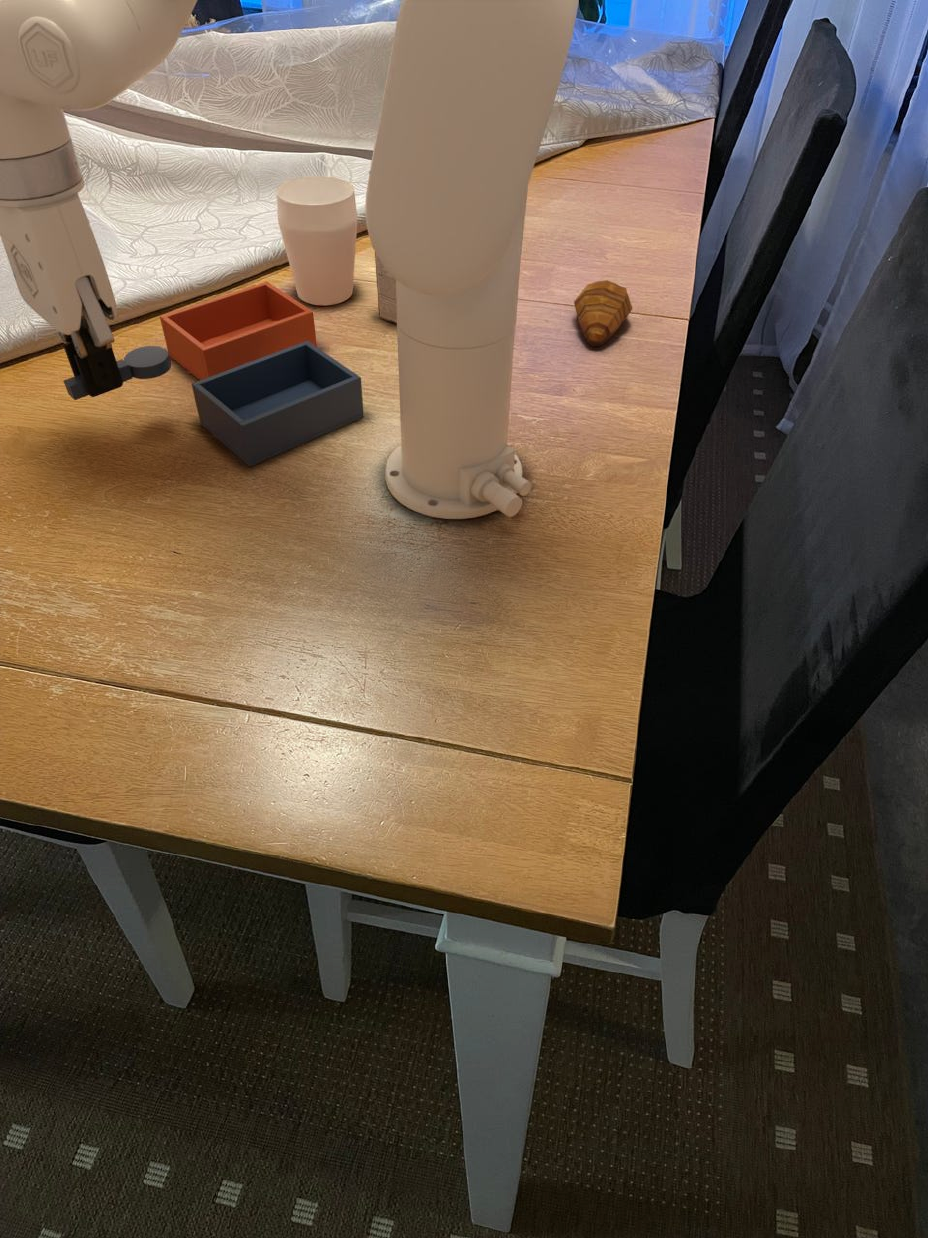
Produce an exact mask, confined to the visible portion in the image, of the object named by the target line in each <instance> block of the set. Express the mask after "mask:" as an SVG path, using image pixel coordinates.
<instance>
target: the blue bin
mask: <svg viewBox="0 0 928 1238" xmlns="http://www.w3.org/2000/svg"><path fill="white" fill-rule="evenodd" d="M362 387H363V386H362V378H361V376H360V375H358V374H357V373H355V372H354V371H352V370H351V369H349V368H348V367H347V366H345V365H343V364H342V363H341V362H339V361H338V360H336V359H335V358H333V357H332V356H330V355H329V354H327V353H326V352H325V351H324V350H322V349H320V348H319V347H318V346H317V347H316V346H314V345H313V344H311V343H310V342H309V341H305V342H303V343H300V344H297V345H294V346H292V347H289V348H286V349H284V350H281V351H278V352H276V353H273V354H270V355H268V356H265V357H262V358H260V359H257V360H254V361H251V362H249V363H246V364H243V365H241V366H238V367H235V368H233V369H230V370H227V371H225V372H222V373H219V374H217V375H214V376H211V377H208V378H206V379H203V380H198V381H195V382H193V383H191V388H192V392H193V397H194V401H195V406H196V409H197V413H198V419H199V423H200V426H202V427H203V428H204V429H206V430H207V431H208V432H209V433H210V434H212V435H213V437H215V438H216V439H217V440H218V441H219V442H221V443H222V444H223V445H224V446H225V447H226V448H227V449H229V450H230V452H232V453H233V454H234V455H236V457H238V458H239V459H240V460H241V461H242V462H243V463H245V464H246V465H247V466H248V467H250V468H251V467H253V466H256V465H257V464H260V463H262V462H264V461H266V460H270V459H271V458H273V457H276V456H278V455H281V454H283V453H285V452H287V451H289V450H293V449H294V448H296V447H299V446H301V445H303V444H306V443H308V442H310V441H312V440H315V439H317V438H319V437H322V436H323V435H327V434H329V433H330V432H334V431H336V430H338V429H340V428H343V427H344V426H345V427H346V426H347V425H350V424H351V423H353V422H355V421H358V420H361V419H363V418H364V402H363V388H362Z"/></svg>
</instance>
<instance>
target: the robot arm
mask: <svg viewBox="0 0 928 1238" xmlns="http://www.w3.org/2000/svg"><path fill="white" fill-rule="evenodd" d="M197 2H198V0H0V238H1V242H2V244H3V248H4V250H5V254H6V257H7V260H8V263H9V267H10V269H11V271H12V274H13V278H14V281H15V283H16V286H17V289H18V292H19V295H20V296H21V298H22V300H23V302H25V303H26V304H27V306H28V307H30V309H31V310H33V311H34V312H35V313H36V314H37V315H38V316H39V317H41V318H42V319H43V320H44V321H45V322H46V323H47V324H48V325H50V327H52V328H53V329H55V330H56V331H57V334H58V336H59V338H60V340H61V341H62V343H63V344H64V345H63V346H62V347H63V349H64V352H65V355H66V358H67V361H68V364H69V366H70V369H71V371H72V374H73V377H75V376H77V375H80V374H81V377H82V380H83V383H84V386H85V388H86V391H87V393H88V394H89V395H88V396H90V397H92V398H95V397H98V396H101V395H103V394H106V393H109V392H111V391H114V390H116V389H119V388H121V387H122V386H123V384H124V382H123V381H122V377H121V374H120V371H119V368H118V365H117V362H116V361H117V359H116V356H115V352H114V349H113V345H112V344H113V343H115V337H114V334H113V333H112V330H111V327H110V326H109V323H108V321H107V319H108V320H110V321H114V320H115V319H116V317H117V315H118V308H117V303H116V302H117V301H116V298H115V295H114V292H113V287H112V284H111V282H110V278H109V274H108V271H107V268H106V265H105V262H104V259H103V256H102V254H101V251H100V248H99V245H98V243H97V240H96V237H95V235H94V232H93V229H92V227H91V223H90V220H89V219H88V216H87V213H86V211H85V209H84V206H83V203H82V200H81V198H80V196H79V193H80V192H81V191H82V190H83V189H84V187H85V185H86V184H85V183H86V182H85V178H84V176H83V173H82V169H81V166H80V162H79V159H78V156H77V152H76V149H75V146H74V143H73V139H72V135H71V132H70V129H69V125H68V122H67V118H66V115H65V112H64V110H65V111H71V112H87V111H93V110H96V109H99V108H101V107H104V106H106V105H107V104H109V103H110V102H112V101H113V100H115V99H116V98H117V97H119V96H121V95H122V94H123V93H125V92H126V91H127V90H128V89H129V88H131V87H132V86H133V85H134V84H136V83H137V82H138V81H139V80H141V79H142V78H144V77H145V76H147V75H149V74H150V73H151V72H153V71H154V70H156V69H157V68H158V67H160V66H161V64H162V63H164V62H165V60H166V59H167V58H168V56H169V55H170V53H171V52H172V51H173V49H174V48H175V46H176V44H177V42H178V40H179V39H180V37H181V34H182V33H183V31H184V29H185V27H186V24H187V23H188V21H189V20H190V19H189V18H190V17H191V15H192V13H193V11H194V9H195V6H196V4H197ZM579 2H580V1H579V0H401V3H400V6H399V9H398V15H397V18H396V23H395V28H394V32H393V39H392V44H391V50H390V55H389V60H388V67H387V73H386V78H385V83H384V89H383V90H384V91H383V95H382V100H381V106H380V112H379V117H378V123H377V129H376V133H375V140H374V145H373V151H372V156H371V161H370V167H369V171H370V173H369V172H368V180H367V185H366V193H365V205H364V209H365V210H364V213H365V223H366V229H367V233H368V237H369V241H370V243H371V247H372V248H373V250H374V254H375V253H376V255H377V256H378V258H379V260H380V261H381V263H382V264H383V266H384V267H385V268H386V270H387V271H388V272H389V273H390V274H391V275H392V276H393V277H394V278H395V279H396V299H397V324H396V335H397V337H396V338H397V363H398V364H397V365H398V385H399V386H398V388H399V389H398V390H399V391H398V393H399V420H400V422H399V423H400V444H399V445H398V446H396V447H395V449H393V451H392V452H391V453H390V454H389V456H388V458H387V460H386V463H385V469H384V473H385V483H386V486H387V489H388V491H389V492H390V494H391V495H392V496H393V497H394V499H396V500H397V501H398V503H400V504H401V505H402V506H405V507H406V508H408V509H409V510H411V511H414V512H416V513H419V514H421V515H424V516H427V517H432V518H437V519H445V520H465V519H474V518H478V517H482V516H487V515H488V514H491V513H493V512H496V511H499V512H501V513H502V515H503V514H504V515H505V516H506V517H508V518H512V517H514V516H516V515H517V514H518V513H519V512H520V510H521V508H522V506H523V499H522V497H524V496H525V497H526V496H527V495H528V494H529V493H530V491H531V489H532V482H530V481H529V480H527V479H526V478H524V477H523V473H524V471H523V465H522V462H521V460H520V458H519V456H518V454H516V449H514V448H513V447H512V446H510V445H508V437H509V425H510V424H509V423H510V407H511V393H512V378H513V365H514V350H515V349H514V348H515V336H516V335H515V334H516V325H517V316H518V315H517V313H518V301H519V286H520V275H521V261H522V249H523V240H524V230H525V222H526V221H525V219H526V212H527V211H526V210H527V200H528V190H529V182H530V181H531V180H530V179H531V177H532V174H533V171H534V167H535V165H536V161H537V158H538V154H539V151H540V149H541V145H542V141H543V138H544V135H545V132H546V129H547V126H548V122H549V120H550V117H551V116H550V115H551V113H552V109H553V106H554V103H555V100H556V96H557V94H558V89H559V87H560V83H561V79H562V77H563V72H564V70H565V66H566V62H567V58H568V55H569V51H570V48H571V45H572V39H573V34H574V31H575V26H576V20H577V14H578V9H579ZM517 494H519V495H520V496H522V497H520V496H519V495H517Z"/></svg>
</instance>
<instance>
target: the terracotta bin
mask: <svg viewBox="0 0 928 1238" xmlns="http://www.w3.org/2000/svg"><path fill="white" fill-rule="evenodd" d="M159 320H160V324H161V328H162V332H163V336H164V340H165V345H166V348H167V349H166V350H167V351H168V353H169V357H170V358H172V359H173V360H174V361H175V362H177V363H178V364H179V365H181V367H183V368H184V369H185V370H186V371H188V372H189V373H190V374H191V375H193V376H194V377H195V378H197V380H198V381H200V380H203V379H206V378H208V377H211V376H214V375H217V374H219V373H222V372H225V371H227V370H230V369H233V368H235V367H238V366H241V365H243V364H246V363H249V362H251V361H254V360H257V359H260V358H262V357H265V356H268V355H270V354H273V353H276V352H278V351H281V350H284V349H286V348H289V347H292V346H294V345H297V344H300V343H303V342H305V341H309V342H310V343H311V344H313V345H314V346H316V347H317V348H318V343H317V334H316V326H315V325H316V323H315V315H314V311H313V310H311V309H310V308H309V307H307V306H305V305H304V304H303V303H301V302H299V301H298V300H297V299H294V298H293V297H292V296H290V295H288V294H287V293H285V292H284V291H282V290H281V289H279V288H277V287H276V286H275V285H274V284H272V283H270V282H269V281H264V282H260V283H258V284H255V285H251V286H248V287H245V288H242V289H240V290H237V291H233V292H231V293H227V294H223V295H221V296H218V297H215V298H211V299H208V300H206V301H202V302H199V303H197V304H194V305H191V306H188V307H184V308H181V309H178V310H175V311H172V312H169V313H165V314H162V315H160V316H159ZM274 321H277V322H274ZM271 322H274V323H271ZM268 323H271V324H268ZM265 324H268V325H265ZM262 325H265V326H262ZM260 326H262V327H260ZM257 327H260V328H257ZM254 328H257V329H254ZM251 329H254V330H251ZM248 330H251V331H248ZM246 331H248V332H246ZM243 332H245V333H243ZM240 333H243V334H240ZM237 334H240V335H237ZM234 335H237V336H234ZM233 336H234V337H233ZM215 337H230V338H228V339H226V340H223V341H220V342H217V343H214V344H211V345H209V346H206V347H205V346H204V345H203V343H204V342H205V341H207V340H209V339H212V338H215Z"/></svg>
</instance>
